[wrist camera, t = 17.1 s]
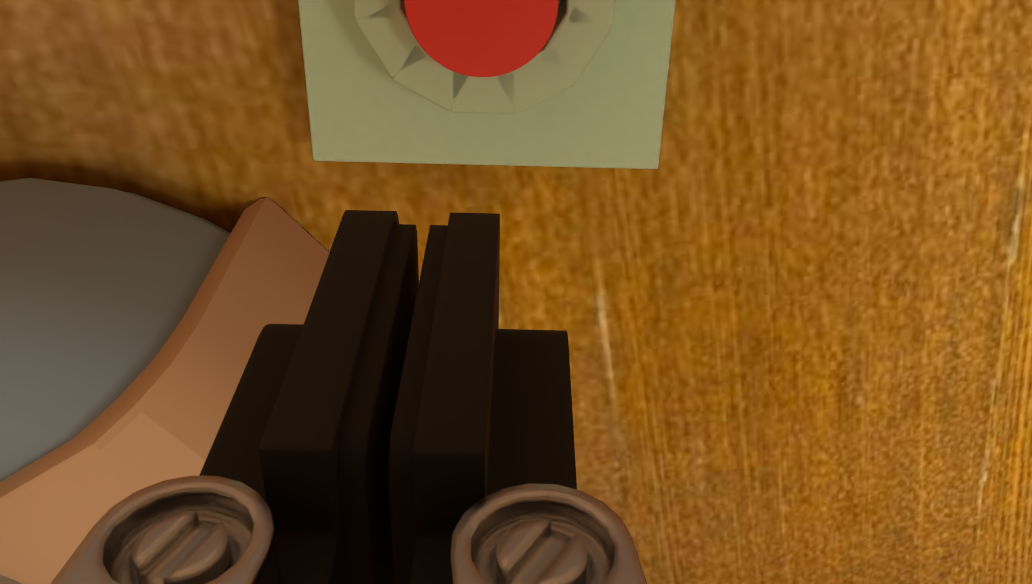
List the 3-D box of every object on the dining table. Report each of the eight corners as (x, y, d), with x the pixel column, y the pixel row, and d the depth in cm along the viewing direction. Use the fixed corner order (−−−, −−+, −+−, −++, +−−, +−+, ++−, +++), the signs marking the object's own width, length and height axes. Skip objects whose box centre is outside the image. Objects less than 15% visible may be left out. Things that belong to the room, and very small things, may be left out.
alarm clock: (416, 585, 40) (377, 889, 30) (-65, 578, 41) (-269, 878, 30) (389, 158, 31) (316, 392, 20) (-248, 149, 31) (-644, 378, 20)
